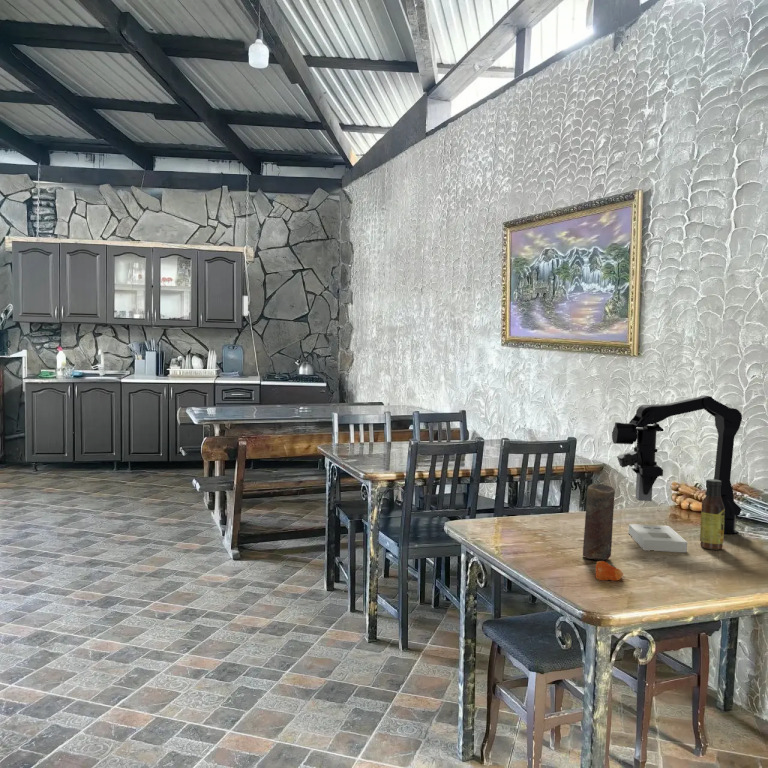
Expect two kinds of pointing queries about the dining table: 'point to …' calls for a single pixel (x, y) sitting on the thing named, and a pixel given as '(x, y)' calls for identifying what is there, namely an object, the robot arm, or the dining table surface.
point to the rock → (607, 572)
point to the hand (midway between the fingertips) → (643, 493)
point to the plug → (639, 490)
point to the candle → (598, 522)
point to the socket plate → (657, 538)
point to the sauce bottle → (712, 517)
